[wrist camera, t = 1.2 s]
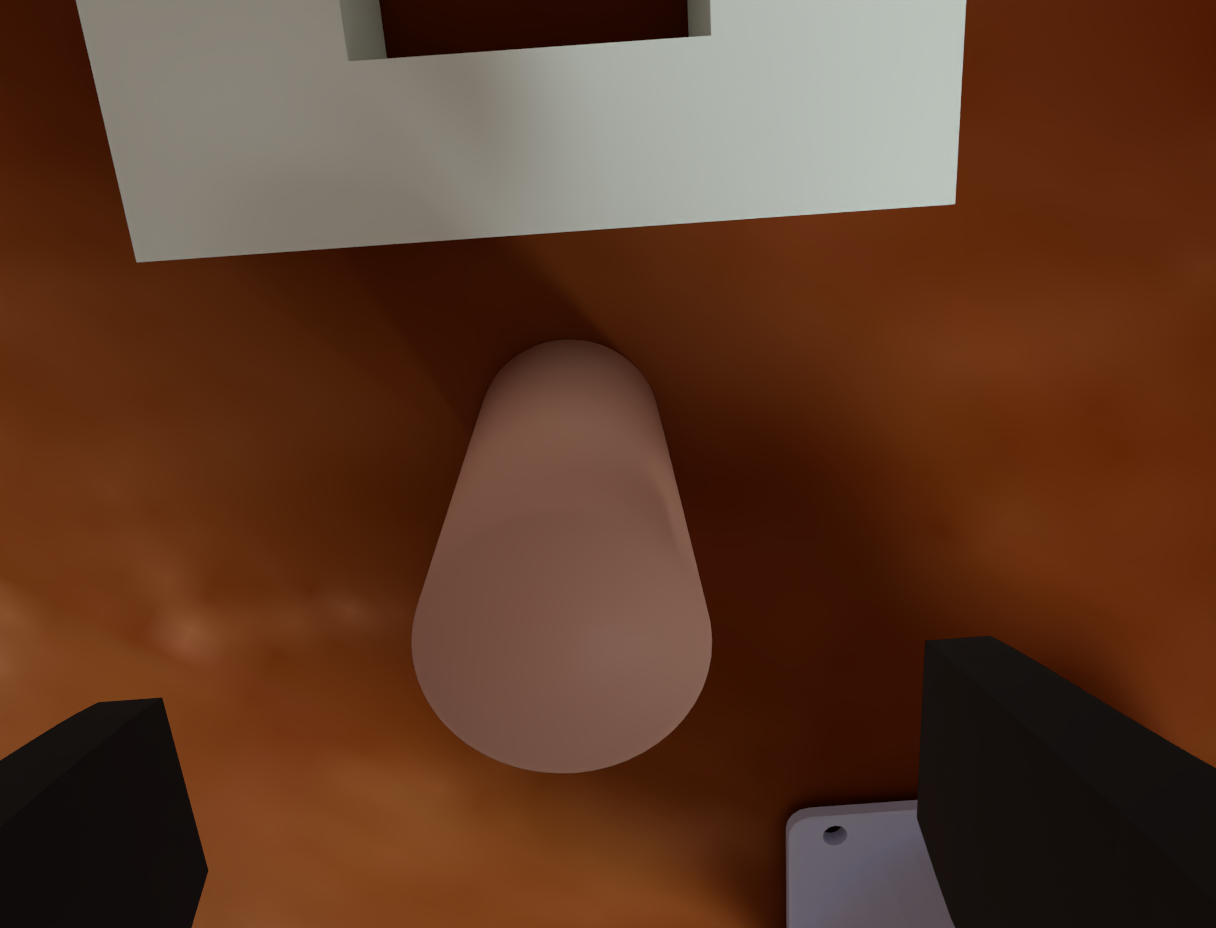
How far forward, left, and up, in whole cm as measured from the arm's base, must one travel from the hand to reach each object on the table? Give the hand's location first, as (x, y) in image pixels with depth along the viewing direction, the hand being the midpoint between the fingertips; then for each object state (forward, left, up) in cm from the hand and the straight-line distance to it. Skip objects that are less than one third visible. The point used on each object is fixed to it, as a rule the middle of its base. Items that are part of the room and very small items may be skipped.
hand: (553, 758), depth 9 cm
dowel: (0, 0, -10) cm, 10 cm away
